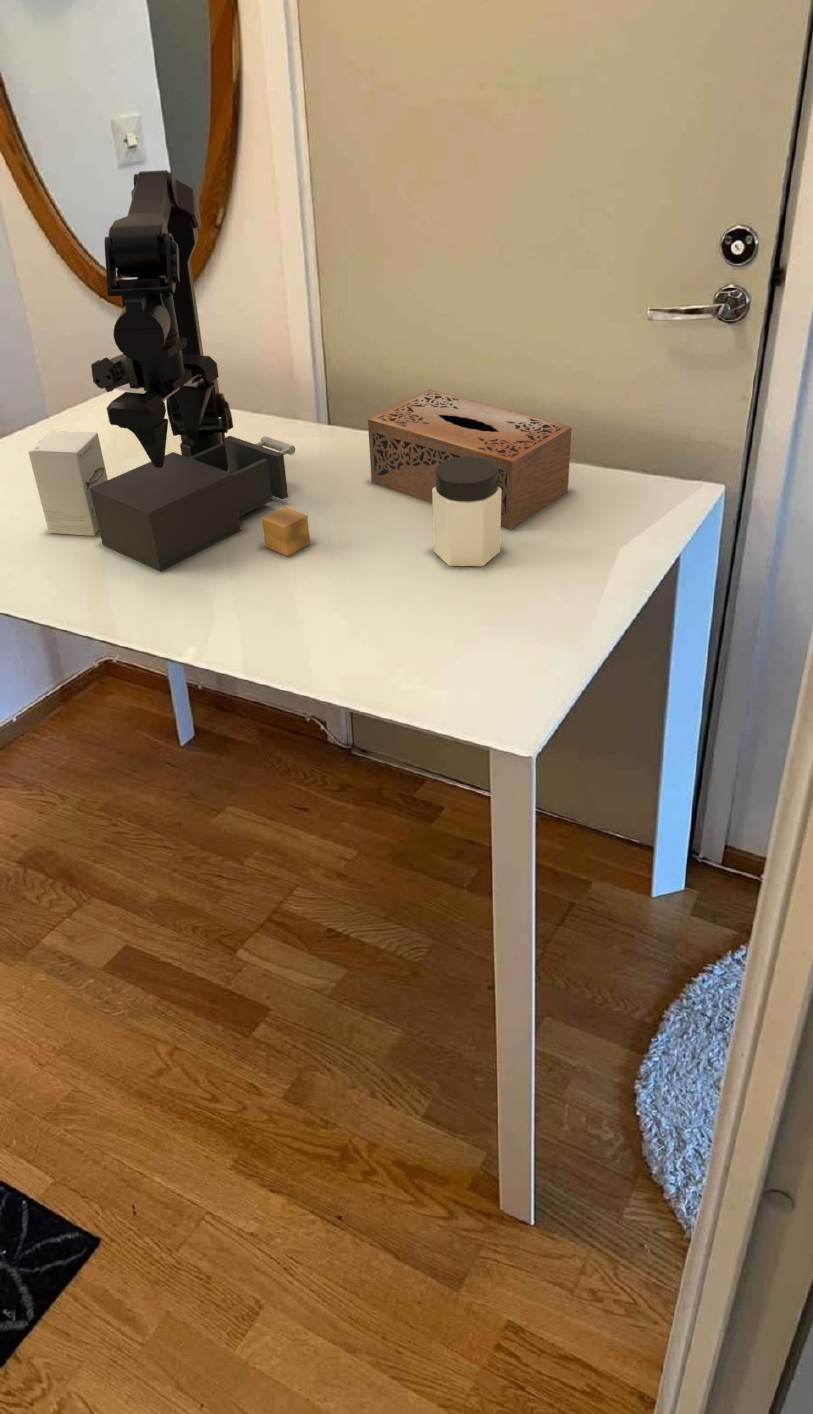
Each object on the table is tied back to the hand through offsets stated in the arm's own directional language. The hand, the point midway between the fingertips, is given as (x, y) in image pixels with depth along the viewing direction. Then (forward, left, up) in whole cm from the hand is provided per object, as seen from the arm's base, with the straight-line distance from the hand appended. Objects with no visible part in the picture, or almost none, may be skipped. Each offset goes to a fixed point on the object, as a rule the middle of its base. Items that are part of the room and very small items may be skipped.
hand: (175, 452), depth 141 cm
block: (-7, +12, -13) cm, 19 cm away
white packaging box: (+6, -17, -13) cm, 22 cm away
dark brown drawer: (-12, -3, -12) cm, 18 cm away
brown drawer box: (+1, -3, -13) cm, 13 cm away
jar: (-20, +33, -13) cm, 41 cm away
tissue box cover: (-36, +21, -13) cm, 44 cm away
